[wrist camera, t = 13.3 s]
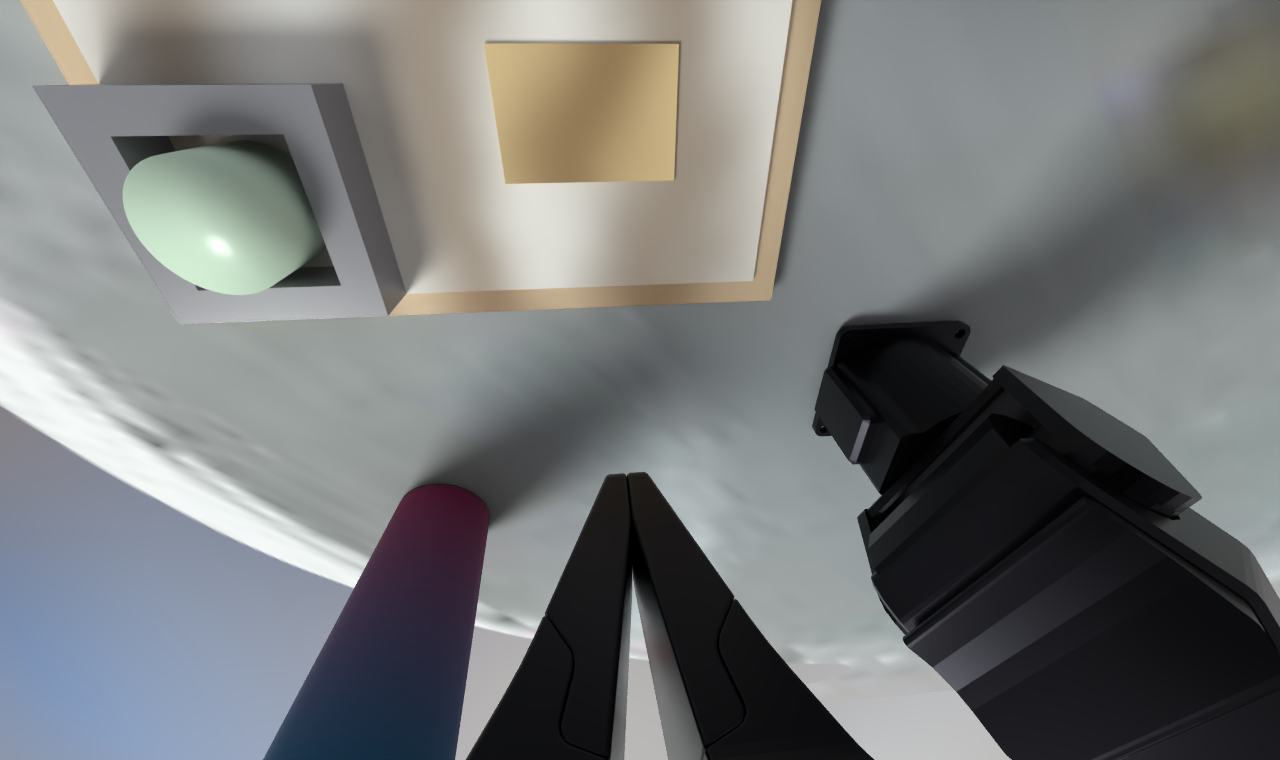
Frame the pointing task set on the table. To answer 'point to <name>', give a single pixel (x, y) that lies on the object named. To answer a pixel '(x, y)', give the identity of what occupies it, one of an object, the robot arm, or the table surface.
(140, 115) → the button housing
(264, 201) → the button
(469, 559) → the cup
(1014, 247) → the table surface
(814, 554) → the table surface
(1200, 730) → the robot arm
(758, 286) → the beige flat board
